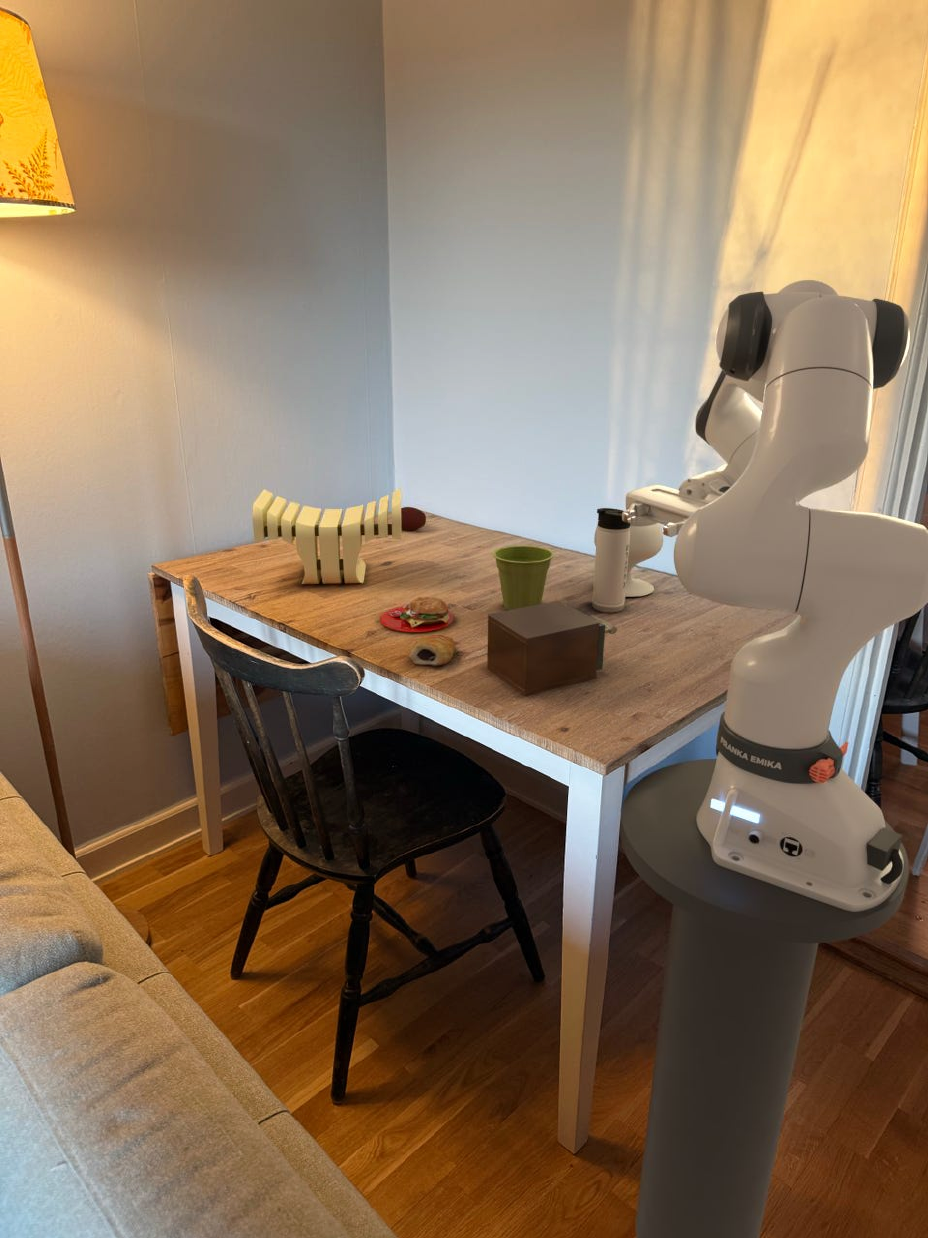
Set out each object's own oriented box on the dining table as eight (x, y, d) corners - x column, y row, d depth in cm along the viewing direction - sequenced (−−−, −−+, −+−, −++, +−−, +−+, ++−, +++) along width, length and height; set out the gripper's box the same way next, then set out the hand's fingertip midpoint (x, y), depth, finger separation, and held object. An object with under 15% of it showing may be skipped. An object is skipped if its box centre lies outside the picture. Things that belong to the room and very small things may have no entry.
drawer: (585, 642, 144) (587, 600, 142) (623, 664, 136) (626, 620, 133) (503, 661, 137) (504, 617, 134) (538, 685, 128) (540, 639, 126)
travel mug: (585, 604, 165) (591, 506, 158) (615, 600, 167) (622, 503, 160) (599, 614, 160) (606, 513, 152) (629, 611, 161) (637, 511, 154)
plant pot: (556, 600, 167) (558, 547, 163) (545, 621, 156) (548, 564, 152) (499, 595, 170) (500, 542, 166) (485, 615, 159) (486, 559, 155)
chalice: (654, 603, 166) (661, 530, 160) (585, 595, 170) (589, 524, 164) (662, 582, 178) (668, 514, 172) (597, 575, 182) (602, 508, 177)
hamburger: (439, 603, 165) (438, 574, 163) (464, 627, 153) (464, 597, 151) (371, 612, 161) (370, 582, 158) (391, 638, 148) (390, 606, 146)
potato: (411, 524, 223) (411, 502, 221) (431, 530, 216) (431, 508, 214) (388, 528, 218) (388, 506, 216) (409, 535, 212) (408, 512, 210)
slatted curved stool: (259, 589, 173) (251, 506, 166) (270, 566, 187) (263, 489, 181) (402, 587, 174) (400, 504, 168) (403, 564, 189) (400, 487, 183)
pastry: (427, 643, 146) (427, 623, 145) (463, 648, 144) (464, 628, 143) (407, 664, 138) (406, 643, 136) (445, 670, 136) (445, 648, 134)
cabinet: (554, 652, 143) (557, 600, 139) (596, 678, 133) (599, 622, 130) (487, 668, 136) (487, 614, 133) (525, 696, 127) (526, 638, 123)
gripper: (658, 471, 149) (601, 493, 143) (751, 496, 134) (691, 521, 127) (658, 504, 152) (602, 526, 146) (749, 532, 137) (691, 558, 130)
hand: (645, 524), depth 137 cm, fingers open, 8 cm apart
